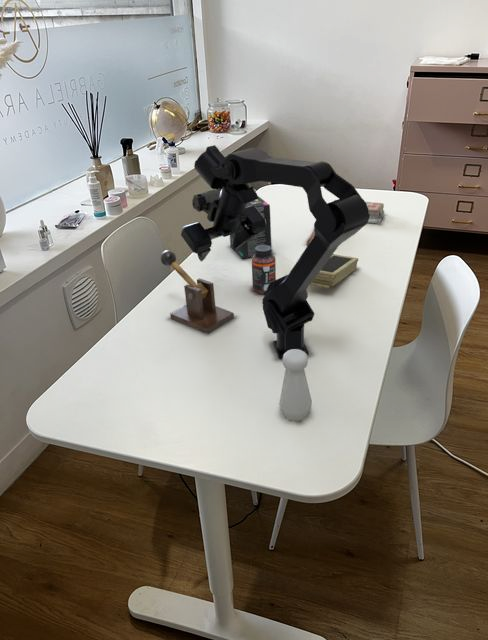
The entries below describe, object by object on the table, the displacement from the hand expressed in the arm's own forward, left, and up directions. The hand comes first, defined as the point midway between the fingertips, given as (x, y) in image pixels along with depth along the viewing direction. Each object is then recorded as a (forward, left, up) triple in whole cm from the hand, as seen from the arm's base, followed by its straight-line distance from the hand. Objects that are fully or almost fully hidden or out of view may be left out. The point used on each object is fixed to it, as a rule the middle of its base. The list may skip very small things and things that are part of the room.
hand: (217, 253), depth 128 cm
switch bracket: (-3, +5, -14) cm, 16 cm away
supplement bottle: (+8, -12, -14) cm, 20 cm away
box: (+10, -31, -14) cm, 35 cm away
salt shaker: (-42, -8, -14) cm, 45 cm away
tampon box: (+34, -13, -14) cm, 39 cm away
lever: (+1, +9, -6) cm, 11 cm away
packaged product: (+52, -51, -14) cm, 74 cm away
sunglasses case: (+39, -37, -14) cm, 55 cm away
